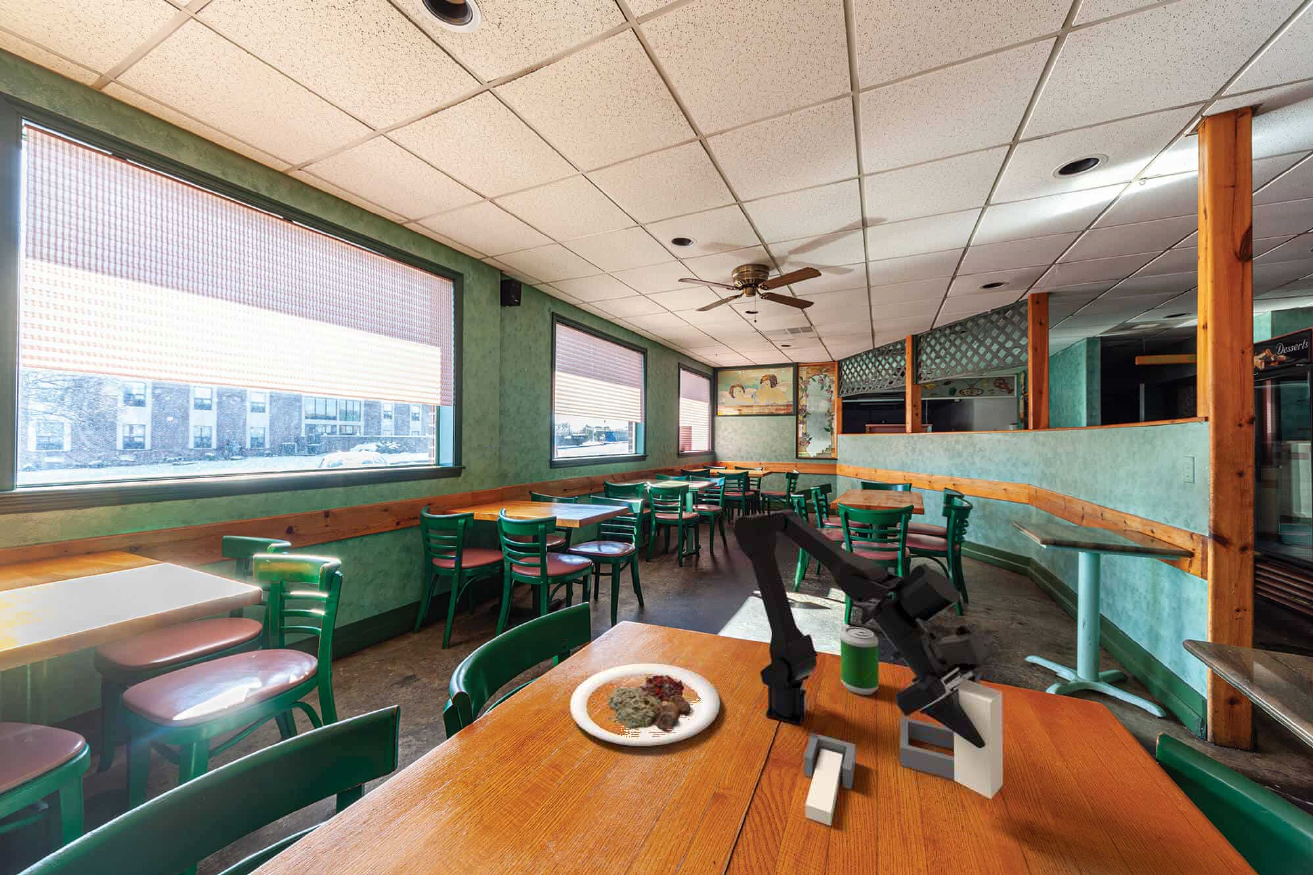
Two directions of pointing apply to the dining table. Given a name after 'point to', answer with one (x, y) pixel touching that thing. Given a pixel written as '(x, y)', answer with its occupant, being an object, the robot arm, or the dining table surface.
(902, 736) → the grey square frame
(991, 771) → the white rectangular block
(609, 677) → the plated food
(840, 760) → the cap with slat
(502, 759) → the dining table surface
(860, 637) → the soda can
